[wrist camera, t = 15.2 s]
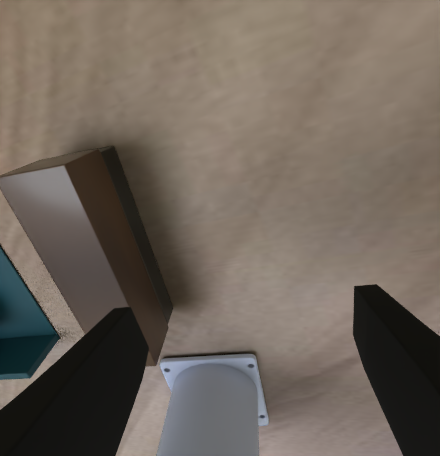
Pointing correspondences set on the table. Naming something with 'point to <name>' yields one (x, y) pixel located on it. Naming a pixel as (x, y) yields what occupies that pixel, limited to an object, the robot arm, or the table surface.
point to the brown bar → (91, 239)
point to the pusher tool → (21, 326)
